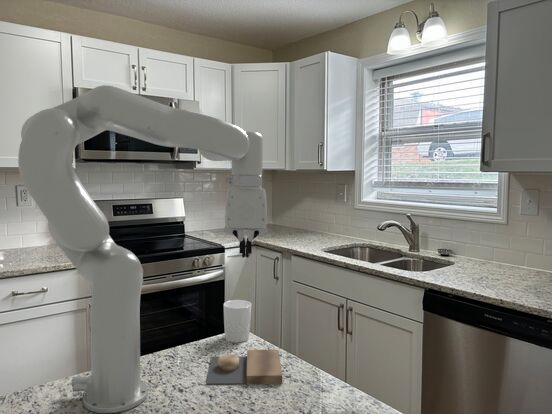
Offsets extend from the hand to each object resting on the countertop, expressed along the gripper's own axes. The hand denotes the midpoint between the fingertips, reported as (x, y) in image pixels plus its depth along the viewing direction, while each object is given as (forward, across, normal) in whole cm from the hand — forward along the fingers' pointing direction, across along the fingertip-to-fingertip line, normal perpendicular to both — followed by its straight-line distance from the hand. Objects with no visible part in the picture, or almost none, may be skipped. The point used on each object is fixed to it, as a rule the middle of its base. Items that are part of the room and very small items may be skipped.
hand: (245, 256), depth 107 cm
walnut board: (+26, +5, -6) cm, 27 cm away
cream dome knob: (+26, -4, -5) cm, 27 cm away
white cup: (+27, -2, +14) cm, 30 cm away
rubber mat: (+26, -4, -6) cm, 27 cm away
